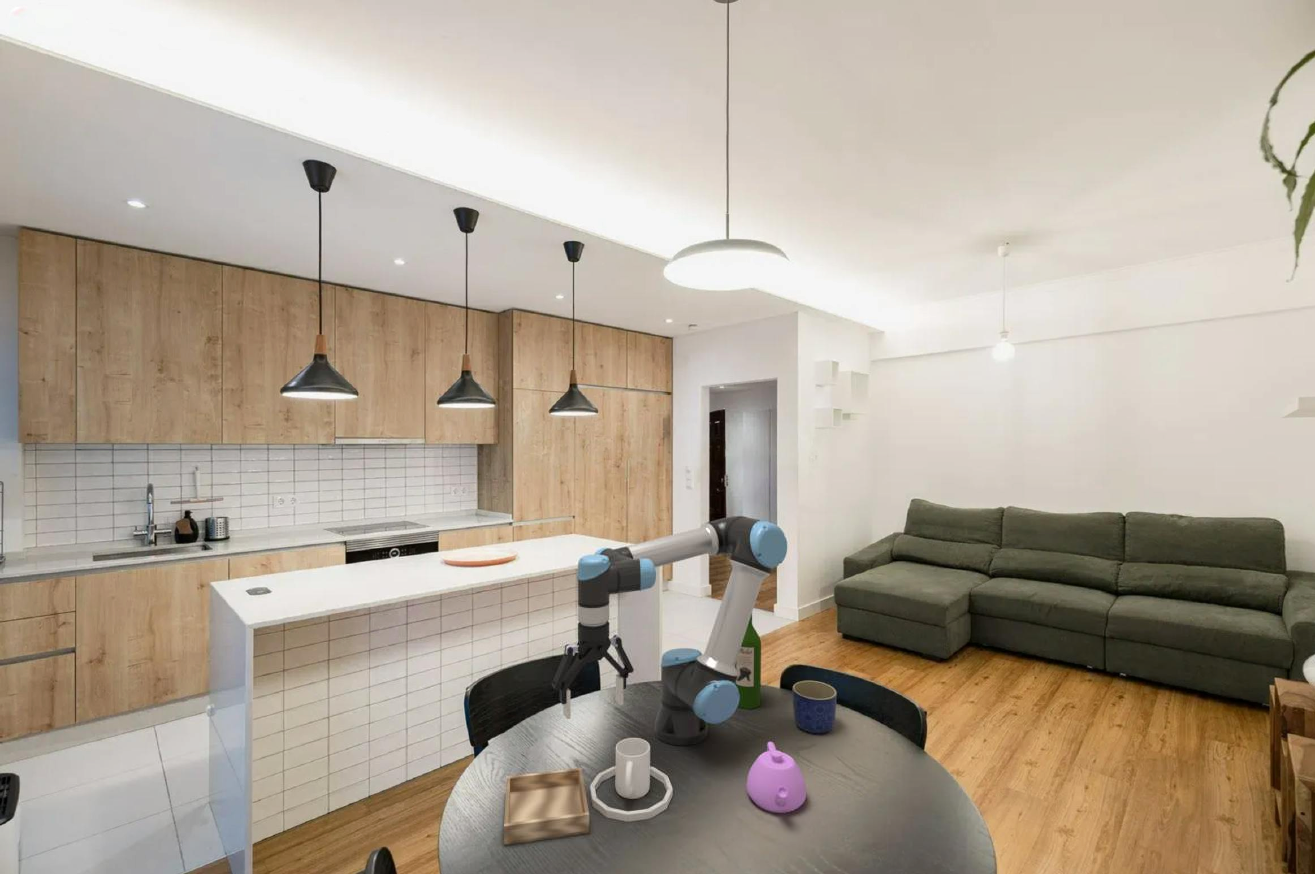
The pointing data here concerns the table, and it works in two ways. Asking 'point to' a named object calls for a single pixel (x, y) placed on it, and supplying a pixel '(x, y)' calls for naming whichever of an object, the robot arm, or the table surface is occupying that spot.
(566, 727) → the table surface
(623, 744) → the mug
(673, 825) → the table surface
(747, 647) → the wine bottle
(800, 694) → the planter
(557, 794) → the oak bin
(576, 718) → the table surface
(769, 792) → the teapot
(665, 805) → the socket ring
